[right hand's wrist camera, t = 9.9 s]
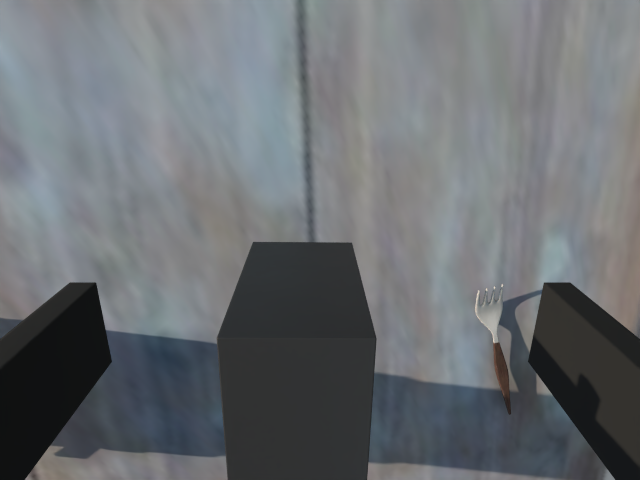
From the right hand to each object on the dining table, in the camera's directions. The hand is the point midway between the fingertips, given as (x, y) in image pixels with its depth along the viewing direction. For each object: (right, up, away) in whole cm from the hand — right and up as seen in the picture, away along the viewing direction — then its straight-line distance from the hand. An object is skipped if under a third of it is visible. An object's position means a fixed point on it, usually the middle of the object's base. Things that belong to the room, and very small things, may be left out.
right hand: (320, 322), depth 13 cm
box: (-1, -10, +20) cm, 22 cm away
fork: (+17, -8, +30) cm, 36 cm away
